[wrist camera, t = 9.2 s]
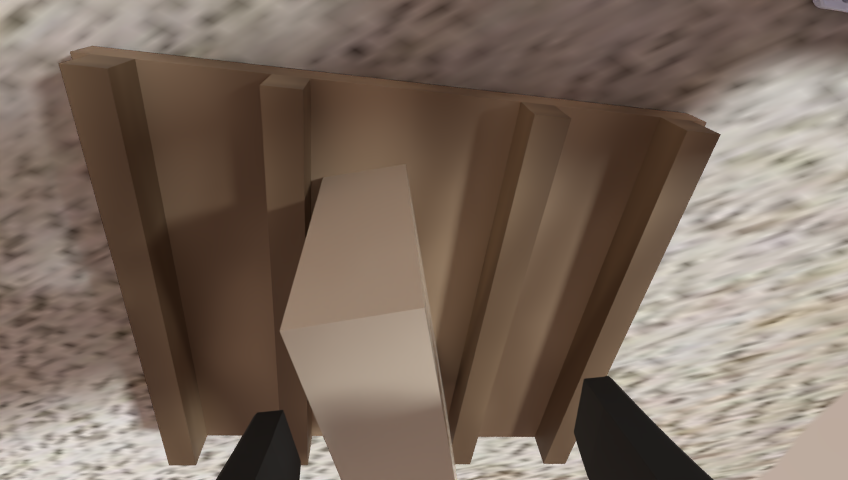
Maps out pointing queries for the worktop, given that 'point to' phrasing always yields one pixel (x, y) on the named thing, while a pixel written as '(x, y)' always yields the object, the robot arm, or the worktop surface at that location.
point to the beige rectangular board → (369, 332)
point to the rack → (434, 215)
